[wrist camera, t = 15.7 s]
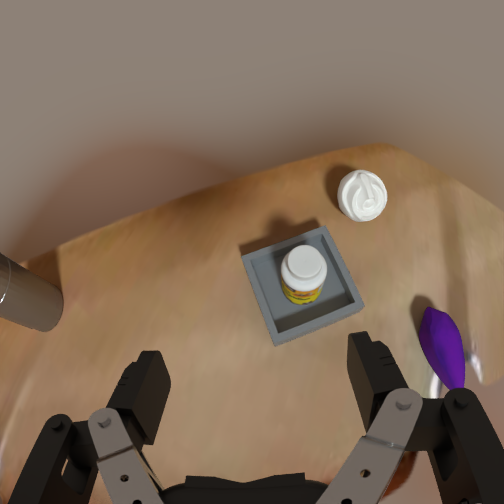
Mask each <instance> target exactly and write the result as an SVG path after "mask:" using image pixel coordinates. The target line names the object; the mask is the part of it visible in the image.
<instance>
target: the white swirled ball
mask: <svg viewBox="0 0 504 504" xmlns="http://www.w3.org/2000/svg"><path fill="white" fill-rule="evenodd" d="M337 198H338V203H339V208H340V209H341V211H342V212H343V213H344V214H345V215H346V216H347V217H349V218H350V219H352V220H354V221H358V222H362V221H369V220H372V219H374V218H376V217H377V216H378V215H379V214H380V213H381V211H382V210H383V209H384V207H385V205H386V202H387V192H386V189H385V186H384V184H383V182H382V181H381V179H380V178H379V177H378V176H376V175H375V174H374V173H372V172H369V171H366V170H356V171H352V172H350V173H349V174H347V175H346V176H345V177H344V178H343V179H342V180H341V182H340V185H339V188H338V192H337Z"/></svg>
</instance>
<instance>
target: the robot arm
mask: <svg viewBox="0 0 504 504" xmlns="http://www.w3.org/2000/svg"><path fill="white" fill-rule="evenodd" d="M62 309H63V299H62V295H61V292H60V290H59V289H58V288H57V287H56V286H54V285H53V284H51V283H49V282H47V281H46V280H44V279H42V278H41V277H39V276H37V275H35V274H34V273H32V272H30V271H29V270H27V269H25V268H24V267H22V266H21V265H19V264H17V263H16V262H14V261H12V260H11V259H9V258H8V257H6V256H5V255H3V254H1V253H0V317H2V318H4V319H7V320H9V321H12V322H15V323H17V324H20V325H22V326H25V327H28V328H31V329H36V330H38V331H42V332H46V331H49V330H51V329H52V328H53V327H54V326H55V325H56V324H57V323H58V321H59V319H60V317H61V314H62ZM347 370H348V375H349V378H350V381H351V384H352V388H353V391H354V394H355V397H356V400H357V404H358V407H359V410H360V414H361V417H362V420H363V424H364V427H365V431H366V433H367V434H366V435H365V436H362V437H361V438H360V439H359V441H358V442H357V444H356V446H355V447H354V449H353V450H352V452H351V454H350V455H349V457H348V458H347V460H346V461H345V463H344V464H343V466H342V467H341V469H340V470H339V472H338V473H337V475H336V476H335V478H334V479H333V481H332V482H331V483H330V485H327V484H325V483H322V482H318V481H313V480H305V473H295V474H284V475H274V476H270V477H266V478H263V479H259V480H255V481H251V482H246V483H240V482H235V481H230V480H226V479H221V478H217V477H205V476H186V480H185V483H182V484H178V485H174V486H171V487H169V488H167V489H165V488H164V487H163V486H162V484H161V483H160V481H159V479H158V478H157V476H156V474H155V473H154V471H153V469H152V467H151V466H150V464H149V462H148V460H147V458H146V457H145V455H144V453H143V451H142V447H143V444H146V445H153V444H154V440H155V437H156V434H157V430H158V427H159V424H160V421H161V417H162V414H163V411H164V408H165V404H166V401H167V398H168V395H169V392H170V388H171V380H170V376H169V373H168V370H167V368H166V365H165V363H164V360H163V357H162V354H161V352H160V351H142V352H141V354H140V356H139V358H138V360H137V362H132V363H131V364H130V365H129V366H128V367H127V368H126V369H125V370H124V372H123V374H122V376H121V379H120V380H119V382H118V386H116V388H115V390H114V392H113V394H112V396H111V398H110V400H109V402H108V404H107V406H106V408H102V409H99V410H97V411H95V412H94V413H93V414H92V415H91V416H90V418H89V420H87V421H80V422H72V420H71V419H70V418H69V417H68V416H67V415H65V414H57V415H54V416H52V417H51V418H49V419H48V420H47V421H46V423H45V425H44V427H43V429H42V431H41V433H40V435H39V437H38V439H37V441H36V443H35V445H34V447H33V449H32V451H31V453H30V455H29V457H28V459H27V461H26V463H25V465H24V467H23V470H22V472H21V474H20V476H19V478H18V481H17V483H16V485H15V488H14V490H13V492H12V495H11V497H10V499H9V502H8V504H88V503H89V500H90V496H91V493H92V490H93V486H94V483H95V480H96V477H97V474H98V470H99V471H100V474H101V476H102V479H103V481H104V484H105V486H106V489H107V491H108V493H109V496H110V498H111V500H112V503H113V504H378V503H379V501H380V499H381V498H382V496H383V494H384V492H385V490H386V488H387V486H388V484H389V483H390V481H391V479H392V477H393V475H394V473H395V471H396V469H397V467H398V465H399V463H400V461H401V458H402V456H403V454H404V452H405V451H427V452H428V456H429V459H430V462H431V465H432V468H433V472H434V475H435V478H436V482H437V485H438V489H439V492H440V496H441V500H442V503H443V504H504V449H503V447H502V444H501V442H500V440H499V438H498V436H497V434H496V432H495V430H494V428H493V426H492V424H491V422H490V420H489V418H488V416H487V415H486V413H485V411H484V409H483V407H482V405H481V403H480V402H479V400H478V398H477V396H476V395H475V394H474V392H472V391H471V390H469V389H466V388H454V389H452V390H450V391H449V392H448V393H447V394H446V395H445V397H444V398H437V399H428V398H422V397H421V396H420V394H419V393H418V392H416V391H414V390H412V389H409V387H408V385H407V383H406V381H405V379H404V377H403V375H402V373H401V371H400V369H399V367H398V365H397V364H396V362H395V360H394V358H393V357H392V354H391V352H390V350H389V348H388V347H387V346H386V345H385V344H383V343H382V342H381V341H375V342H372V341H371V339H370V337H369V335H368V333H367V331H363V332H357V333H351V334H349V335H348V351H347ZM66 459H68V463H67V465H66V468H65V470H64V473H63V475H61V472H62V469H63V466H64V464H65V461H66Z"/></svg>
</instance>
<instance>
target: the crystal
mask: <svg viewBox="0 0 504 504" xmlns="http://www.w3.org/2000/svg"><path fill="white" fill-rule="evenodd" d="M419 339H420V343H421V346H422V349H423V351H424V354H425V356H426V358H427V360H428V362H429V364H430V365H431V367H432V368H433V370H434V371H435V373H436V374H437V376H438V377H439V378H440V380H441V381H442V382H443V383H444V384H445V386H446V387H447V388H448V389H449V390H452V389H454V388H464V381H465V359H464V352H463V346H462V340H461V336H460V333H459V330H458V328H457V326H456V325H455V323H454V321H453V320H452V319H451V317H450V316H449V315H448V314H447V313H445V312H442V311H439V310H436V309H434V308H431V307H427V309H426V310H425V312H424V315H423V319H422V323H421V327H420V331H419Z"/></svg>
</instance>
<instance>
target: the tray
mask: <svg viewBox="0 0 504 504" xmlns="http://www.w3.org/2000/svg"><path fill="white" fill-rule="evenodd" d="M300 245H309V246H312V247H314V248H316V249H317V250H318V251H319V253H320V254H321V255H322V256H323V257H324V259H325V261H326V264H327V275H326V278H325V281H324V284H323V287H322V290H321V293H320V295H319V297H318V298H317V299H316V300H315V301H314V302H313V303H311V304H309V305H304V306H299V305H295V304H293V303H291V302H289V301H288V300H287V299H286V297H285V296H284V294H283V290H282V279H281V264H282V261H283V259H284V257H285V256H286V255H287V254H288V253H289V252H290V251H292V250H293V249H294V248H295V247H297V246H300ZM241 258H242V261H243V263H244V266H245V269H246V272H247V274H248V277H249V280H250V282H251V285H252V288H253V290H254V293H255V296H256V298H257V301H258V304H259V306H260V309H261V312H262V314H263V317H264V320H265V322H266V325H267V327H268V330H269V333H270V335H271V338H272V341H273V343H274V346H278V345H281V344H283V343H286V342H289V341H291V340H294V339H296V338H299V337H301V336H304V335H306V334H309V333H311V332H314V331H316V330H319V329H321V328H323V327H326V326H328V325H331V324H333V323H335V322H338V321H340V320H342V319H345V318H347V317H349V316H351V315H354V314H356V313H358V312H360V311H361V310H362V308H363V307H364V306H365V305H364V303H363V301H362V298H361V296H360V294H359V292H358V290H357V288H356V286H355V284H354V281H353V279H352V277H351V275H350V273H349V271H348V269H347V267H346V265H345V263H344V261H343V259H342V257H341V255H340V253H339V251H338V249H337V247H336V245H335V243H334V241H333V239H332V237H331V235H330V233H329V231H328V229H327V227H326V226H322V227H319V228H317V229H314V230H311V231H309V232H306V233H303V234H301V235H298V236H295V237H292V238H290V239H287V240H284V241H282V242H279V243H276V244H273V245H271V246H268V247H265V248H263V249H260V250H257V251H255V252H252V253H249V254H246V255H244V256H241Z"/></svg>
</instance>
